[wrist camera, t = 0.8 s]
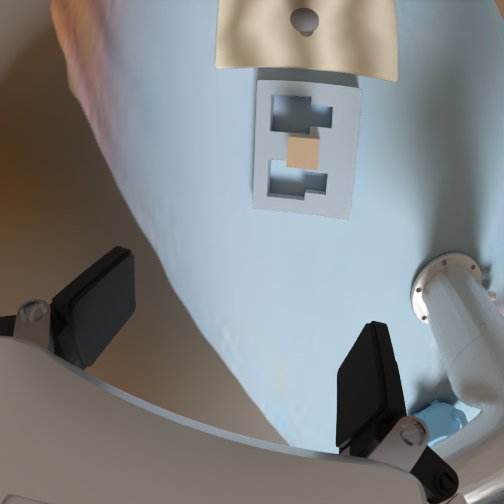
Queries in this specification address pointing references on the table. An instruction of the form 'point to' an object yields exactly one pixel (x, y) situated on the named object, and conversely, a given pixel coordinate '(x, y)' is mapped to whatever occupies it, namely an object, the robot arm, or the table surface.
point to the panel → (329, 151)
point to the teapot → (441, 420)
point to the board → (309, 36)
